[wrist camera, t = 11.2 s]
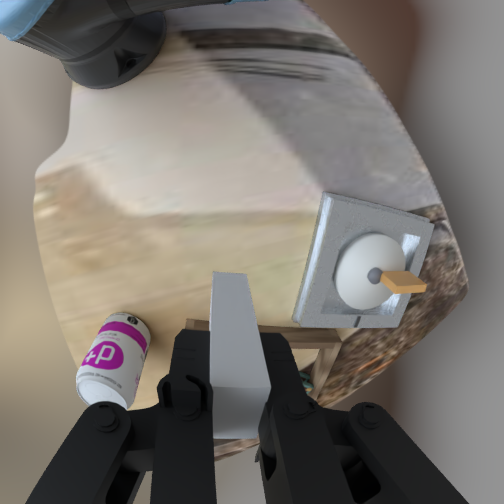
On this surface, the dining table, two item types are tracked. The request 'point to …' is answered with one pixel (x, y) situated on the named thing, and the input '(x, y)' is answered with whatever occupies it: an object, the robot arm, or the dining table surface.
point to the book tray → (300, 347)
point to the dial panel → (331, 247)
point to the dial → (373, 272)
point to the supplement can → (114, 361)
